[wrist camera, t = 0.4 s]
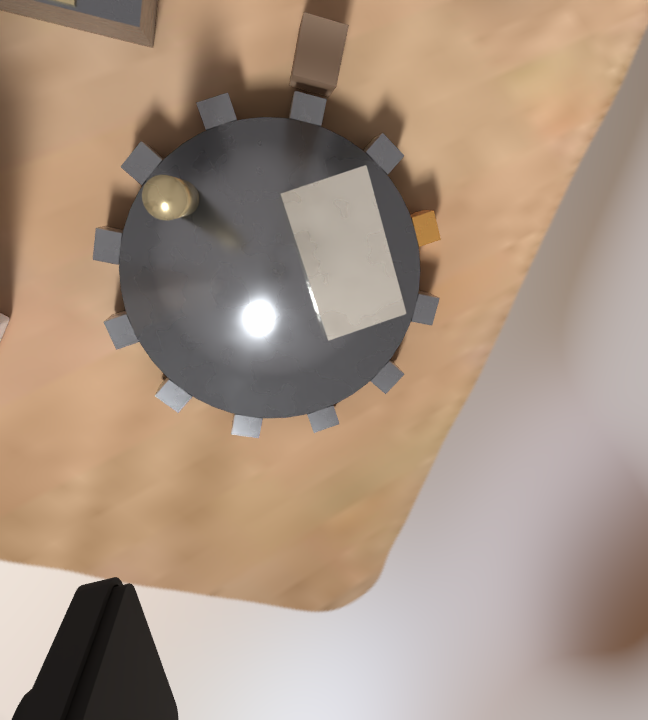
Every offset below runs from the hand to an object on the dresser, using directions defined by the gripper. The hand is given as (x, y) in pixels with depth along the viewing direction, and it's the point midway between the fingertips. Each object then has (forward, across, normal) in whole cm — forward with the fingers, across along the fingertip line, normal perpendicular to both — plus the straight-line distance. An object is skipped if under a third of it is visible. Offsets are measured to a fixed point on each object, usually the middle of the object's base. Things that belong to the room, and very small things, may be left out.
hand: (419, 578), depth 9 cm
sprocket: (+27, +1, -2) cm, 27 cm away
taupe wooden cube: (+27, -4, -13) cm, 30 cm away
